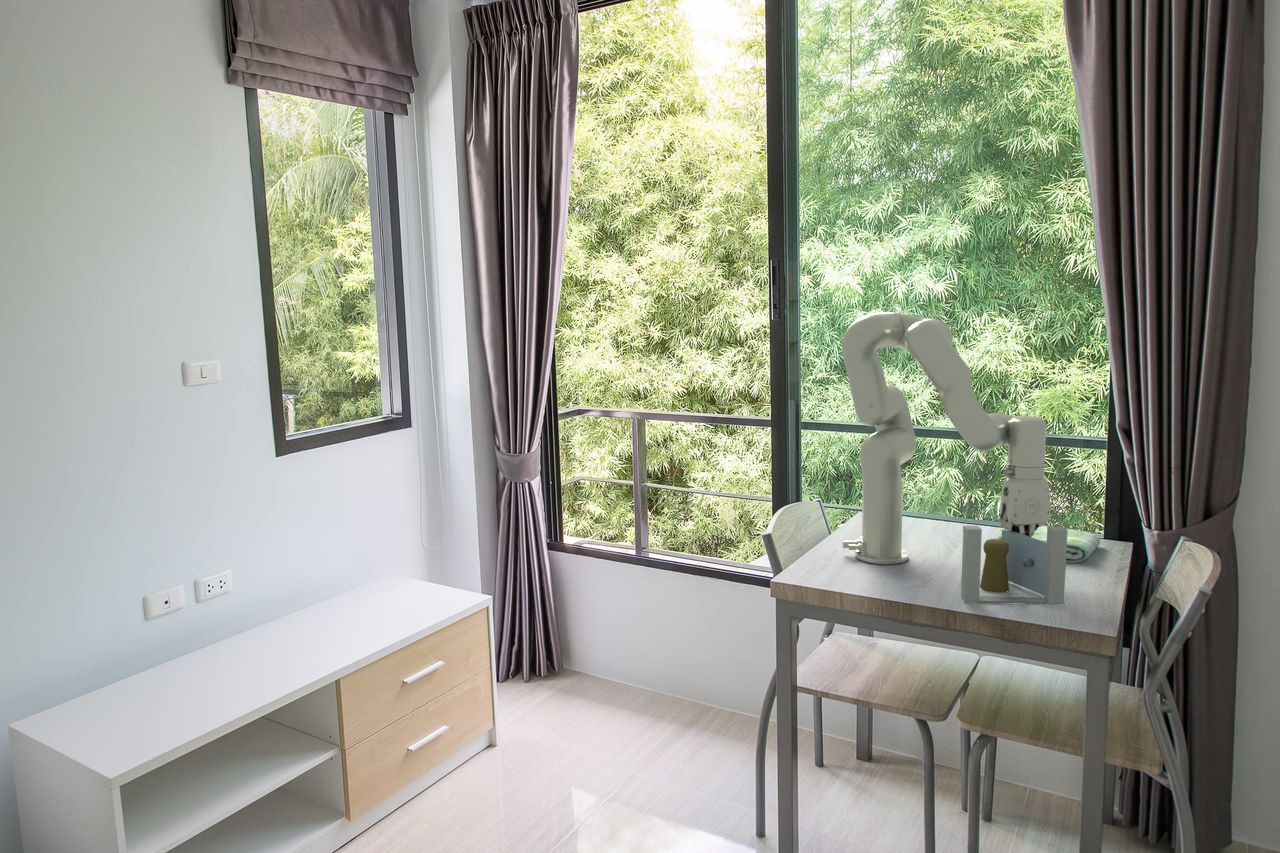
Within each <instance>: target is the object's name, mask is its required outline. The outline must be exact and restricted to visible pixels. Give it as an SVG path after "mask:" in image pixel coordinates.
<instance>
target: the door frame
mask: <svg viewBox="0 0 1280 853" xmlns="http://www.w3.org/2000/svg"><path fill="white" fill-rule="evenodd" d="M1046 526H1047V545H1046V566H1045V587H1044V595H1043V597H1041V596H1003V595H997V596H996V595H993V596H991V595H980V591H981V590H980V589H981V588H980V584H981V563H982V562H981V558H982V557H981V556H982V536H983V535H982V532H983V530H982V528H981V527H980V526H979V525H963V527H962V556H961V557H962V558H961V562H962V563H961V584H960V585H961V588H960V589H961V591H960V599H961V600H962V602H963V601H964V602H963V603H964V604H1001V603H1003V604H1004V603H1025V604H1024V605H1047V604H1048V605H1058V604H1065V603H1064V602H1065V588H1066V587H1065V586H1066V567H1067V562H1066V550H1067V531H1068V530H1067V529H1068V528H1065V527H1064V526H1062V525H1061V526H1060V525H1059V526H1056V525H1053V526H1052V525H1049V526H1048V525H1046ZM1046 601H1047V602H1046Z"/></svg>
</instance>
